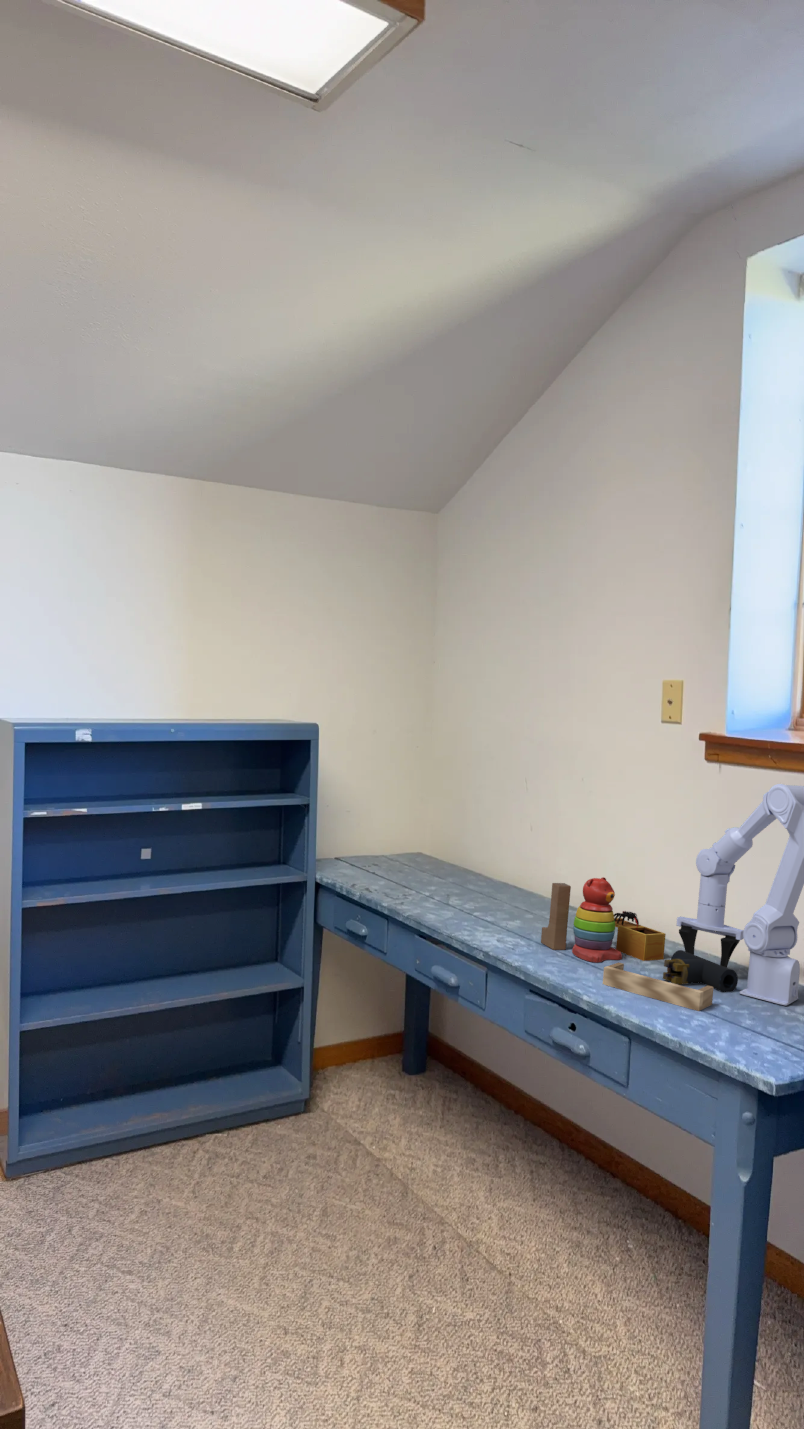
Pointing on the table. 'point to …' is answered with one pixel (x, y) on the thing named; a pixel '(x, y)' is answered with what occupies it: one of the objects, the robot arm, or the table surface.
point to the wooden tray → (657, 988)
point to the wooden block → (557, 918)
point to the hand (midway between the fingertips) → (706, 965)
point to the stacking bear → (595, 923)
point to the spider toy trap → (638, 938)
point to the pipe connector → (699, 972)
